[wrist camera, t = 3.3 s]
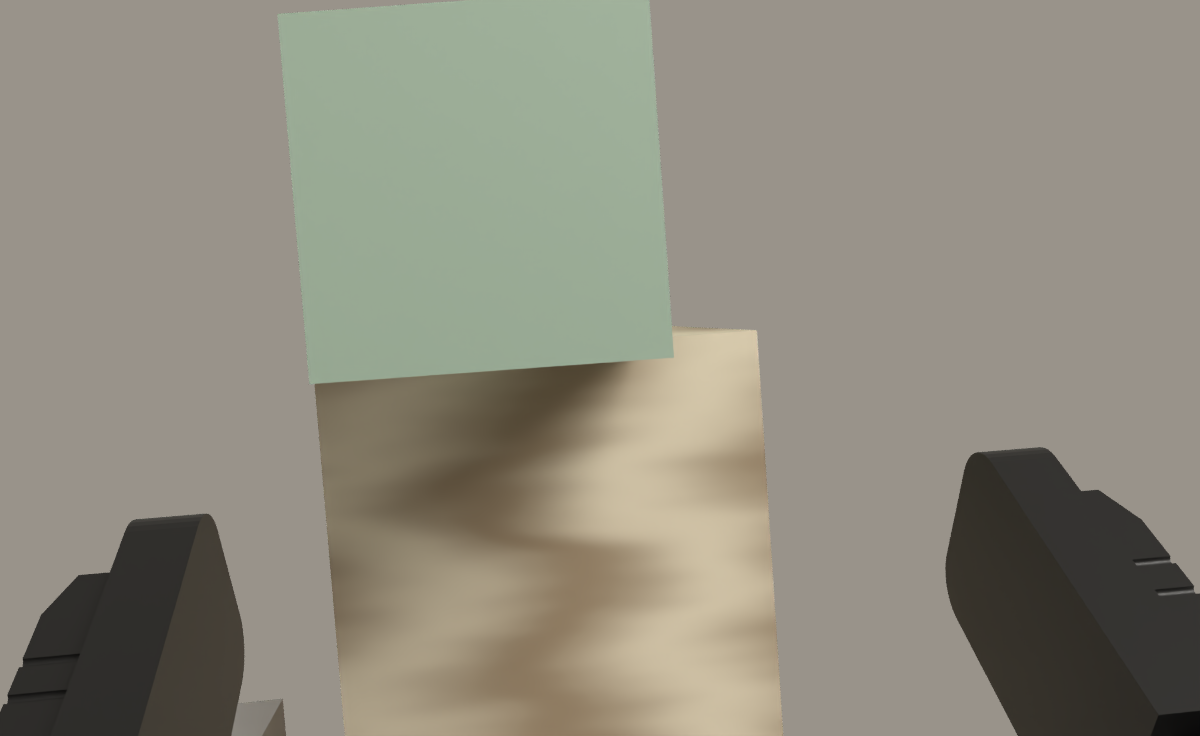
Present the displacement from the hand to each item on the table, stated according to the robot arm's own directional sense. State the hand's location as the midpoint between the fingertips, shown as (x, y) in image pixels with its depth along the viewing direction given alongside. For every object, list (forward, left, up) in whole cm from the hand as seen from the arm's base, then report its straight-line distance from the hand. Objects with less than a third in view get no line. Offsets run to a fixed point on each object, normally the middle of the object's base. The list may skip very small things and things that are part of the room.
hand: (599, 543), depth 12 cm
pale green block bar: (0, +16, +2) cm, 17 cm away
